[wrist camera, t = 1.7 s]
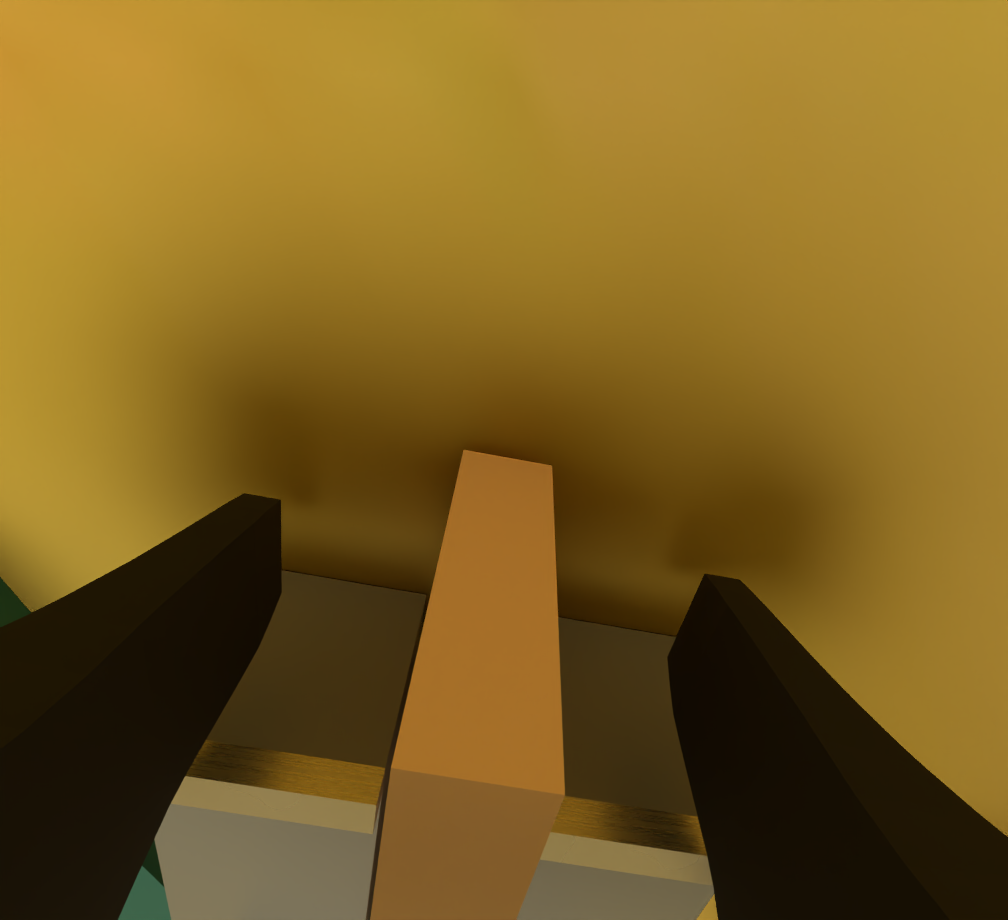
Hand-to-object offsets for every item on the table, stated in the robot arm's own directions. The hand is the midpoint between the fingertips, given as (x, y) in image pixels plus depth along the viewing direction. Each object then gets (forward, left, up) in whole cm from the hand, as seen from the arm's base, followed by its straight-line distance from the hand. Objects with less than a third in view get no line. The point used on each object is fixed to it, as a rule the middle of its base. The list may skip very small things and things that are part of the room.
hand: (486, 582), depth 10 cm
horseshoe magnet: (0, +8, -2) cm, 9 cm away
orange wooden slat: (0, +3, -1) cm, 4 cm away
